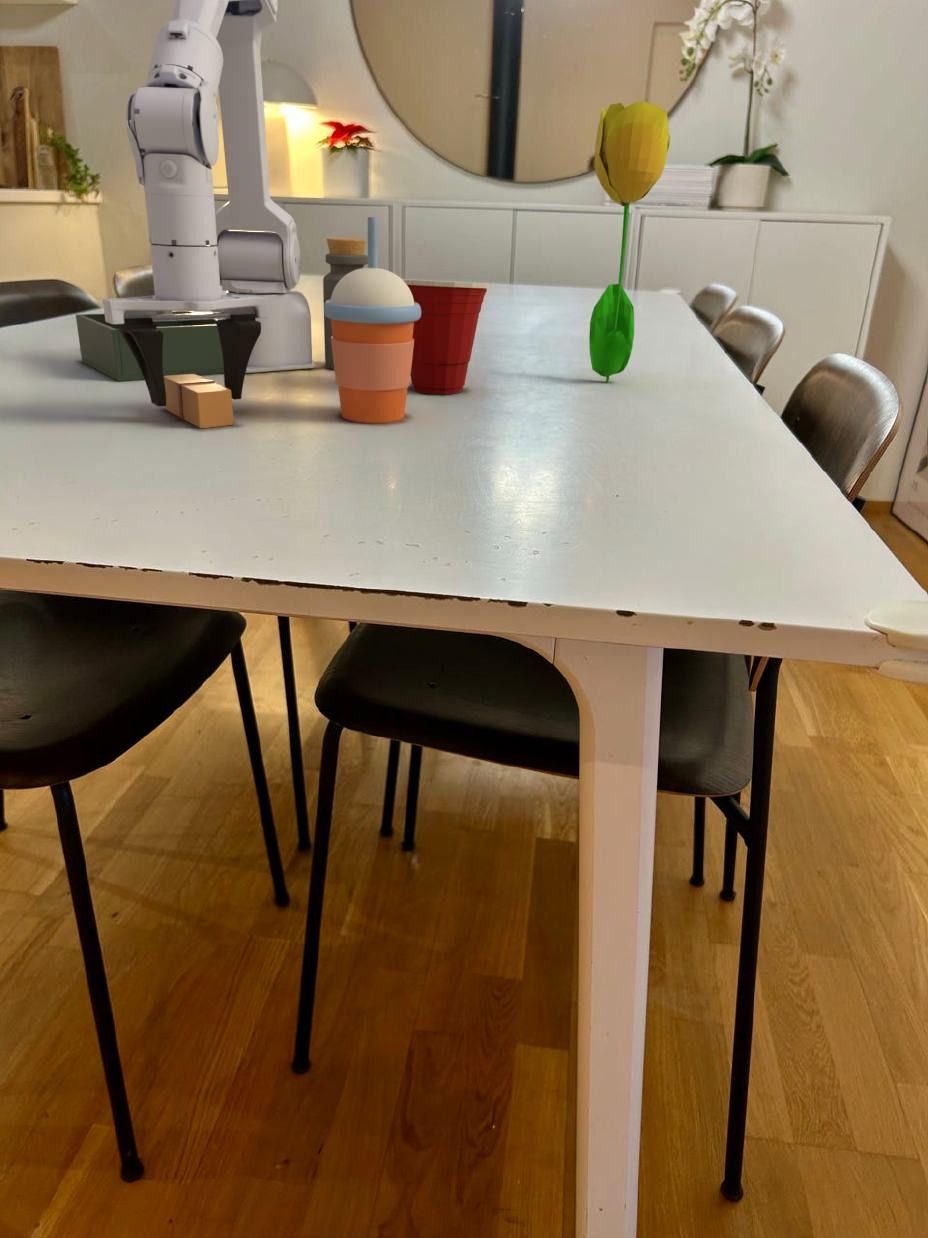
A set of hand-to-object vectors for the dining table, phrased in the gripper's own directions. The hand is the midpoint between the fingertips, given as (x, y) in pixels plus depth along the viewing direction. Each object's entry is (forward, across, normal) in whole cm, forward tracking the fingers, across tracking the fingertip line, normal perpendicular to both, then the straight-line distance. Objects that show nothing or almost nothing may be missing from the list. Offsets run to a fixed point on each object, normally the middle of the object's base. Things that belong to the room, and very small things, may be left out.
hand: (197, 400), depth 85 cm
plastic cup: (+2, +29, +2) cm, 29 cm away
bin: (+2, +6, +28) cm, 29 cm away
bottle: (+2, +27, +19) cm, 33 cm away
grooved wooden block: (+2, 0, 0) cm, 2 cm away
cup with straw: (+2, +15, -7) cm, 17 cm away
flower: (+2, +51, -3) cm, 51 cm away
